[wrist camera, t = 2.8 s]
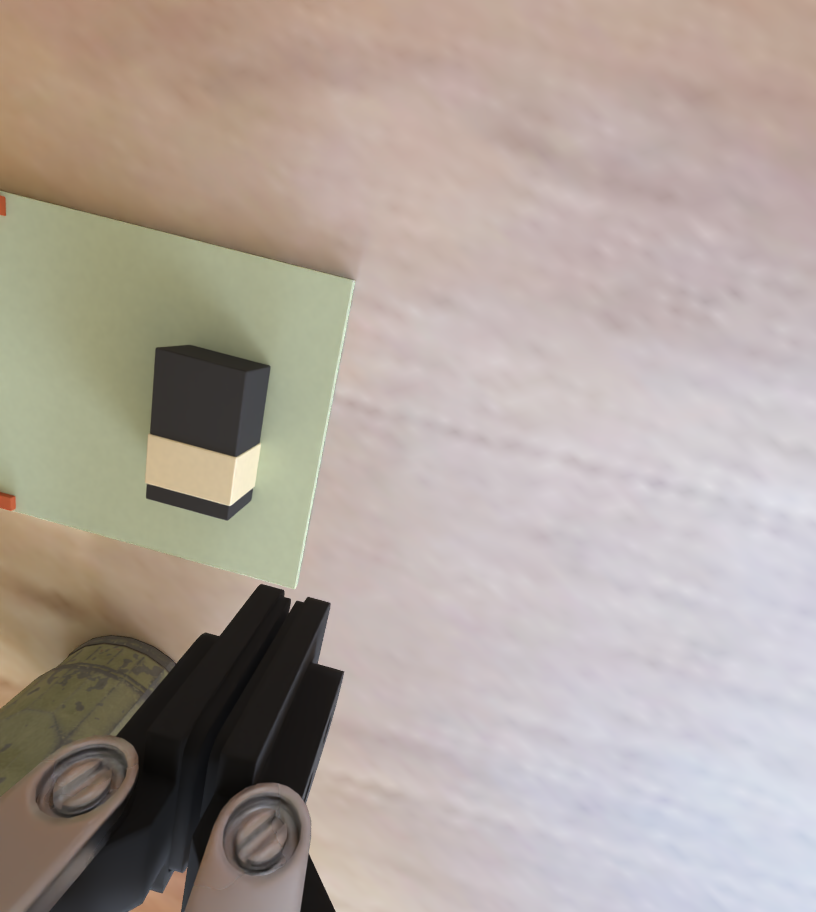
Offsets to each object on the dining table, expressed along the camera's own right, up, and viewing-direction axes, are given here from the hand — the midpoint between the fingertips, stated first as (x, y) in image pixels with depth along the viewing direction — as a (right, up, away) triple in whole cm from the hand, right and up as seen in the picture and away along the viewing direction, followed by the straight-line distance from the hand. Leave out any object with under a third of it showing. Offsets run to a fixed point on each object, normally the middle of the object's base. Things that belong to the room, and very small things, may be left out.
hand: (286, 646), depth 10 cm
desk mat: (-15, +8, +12) cm, 21 cm away
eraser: (-6, +6, +11) cm, 14 cm away
